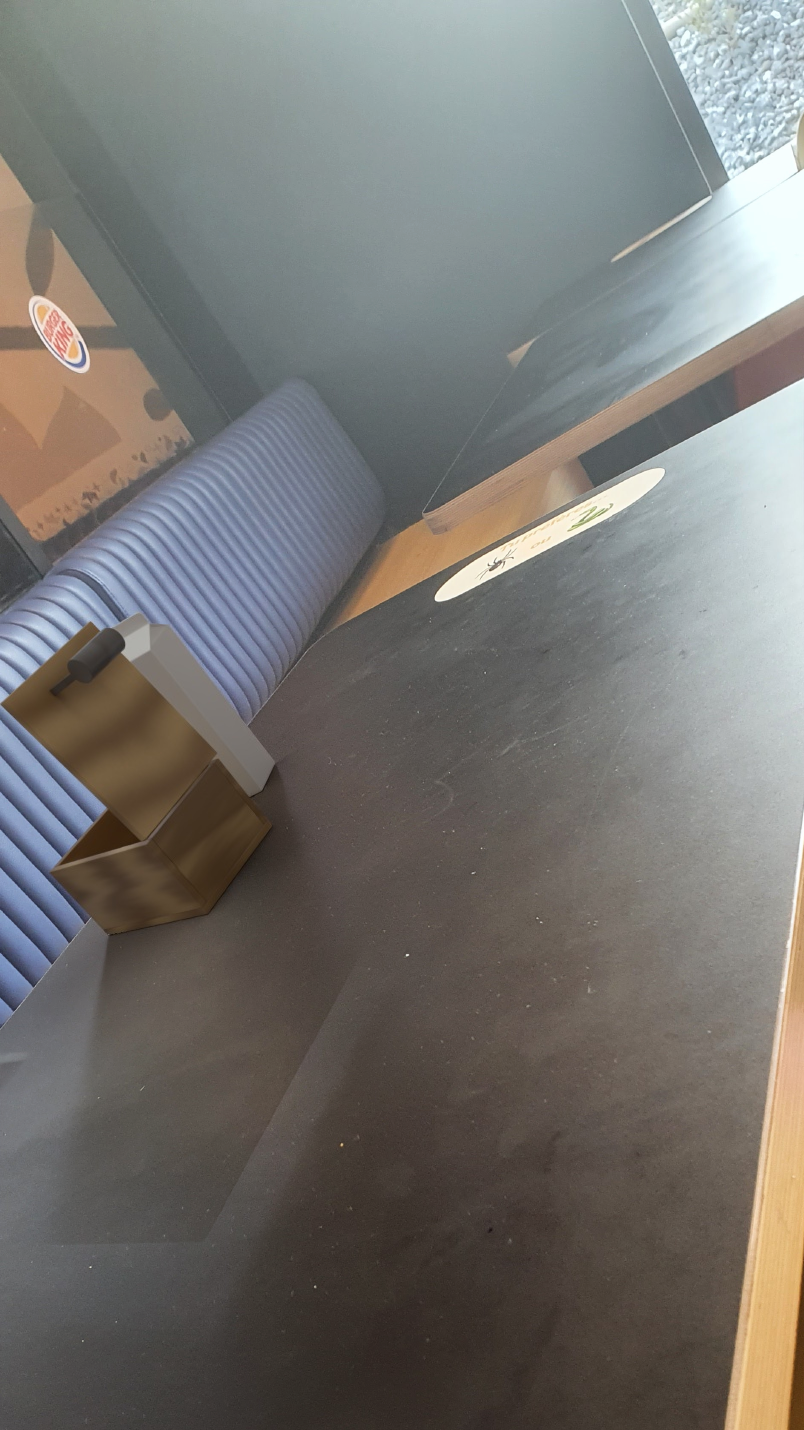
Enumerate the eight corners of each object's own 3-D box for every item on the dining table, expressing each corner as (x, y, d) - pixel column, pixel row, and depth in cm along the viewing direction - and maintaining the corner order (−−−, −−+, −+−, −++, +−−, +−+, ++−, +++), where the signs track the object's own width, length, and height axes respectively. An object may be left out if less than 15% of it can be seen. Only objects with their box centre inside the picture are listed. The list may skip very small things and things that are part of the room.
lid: (-1, 704, 97) (38, 671, 92) (86, 624, 105) (126, 590, 100) (141, 841, 103) (184, 818, 98) (213, 755, 111) (256, 729, 106)
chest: (108, 935, 116) (48, 872, 112) (174, 852, 124) (121, 790, 120) (208, 914, 107) (146, 844, 103) (272, 825, 115) (218, 757, 111)
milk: (262, 791, 124) (129, 623, 114) (219, 812, 127) (84, 649, 116) (276, 761, 129) (150, 598, 119) (234, 782, 132) (106, 623, 121)
